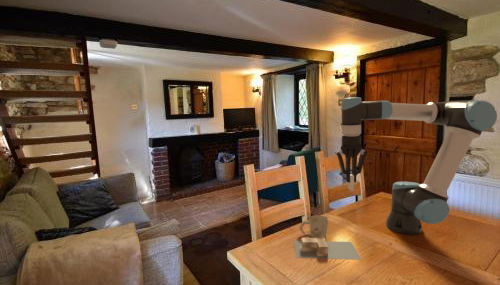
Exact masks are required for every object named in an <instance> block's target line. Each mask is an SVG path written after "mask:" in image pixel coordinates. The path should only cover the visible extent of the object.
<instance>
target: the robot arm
mask: <svg viewBox="0 0 500 285" xmlns="http://www.w3.org/2000/svg"><path fill="white" fill-rule="evenodd" d="M340 109H341V147H340V149H339V150H338V151H335V155H336V157H337V160H338V164H339V166H340V170H341V173H342V174H343V175H345V181H346V183H348V184H347V189H348V190H349V191H355V183H357V176H358V175H359V174H362V170H363V165H364V162H365V159H366V156H367V154H368V151H367V150H364V149H363V147H362V136H361V134H362V121H366V120H367V121H368V120H370V121H373V120H395V121H396V120H399V121H416V122H417V121H418V122H419V121H420V122H421V121H422V122H424V123H426V124H432V125H433V124H435V125H440V126H445V129H446V131H447V133H446V136H445V138H444V140H443V142H442V144H441V146H440V148H439V150H438V152H437V154H436V156H435V158H434V161H433V163H432V165H431V167H430V168H429V171H428V173H427V174H426V177H425V179H424V181H423V183H418V182H413V181H396V182H394V183H392V189H391V190H392V191H391V203H390V204H391V206H390V207H391V208H390V212H389V214H388V216H387V217H386V227H387V228H388V229H389V230H391V231H393V232H396V233H399V234H402V235H408V236H416V235H420V234H421V233H423V226H422V222H424V223H426V224H429V225H437V224H440V223H442V222H443V221H445V220H446V219H447V218H448V216H449V214H450V207H449V205H448V203H447V202H448V200H449V195H448V190H449V187H450V186H451V184H452V182H453V180H454V178H455V176H456V173H457V171H458V169H459V168H460V166H461V164H462V162H463V160H464V158H465V156H466V154H467V152H468V150H469V148H470V146H471V145H472V142H473V140H474V139H477V138H479V137H481V134H482V133H483V131H487V130H489V129H491V128H493V127H494V125H495V124H496V122H497V119H498V113H497V110H496V108H495V106H494V105H493V104H492V103H491V102H489V101H486V100H482V99H481V100H480V99H479V100H478V99H471V100H470V99H469V100H450V101H440V102H432V101H431V102H428V103H426V104H423V103H422V104H421V103H401V102H390V101H389V100H376V101H375V100H374V101H373V100H371V101H362V97H359V96H357V97H344V98H343V99H342V101H341V108H340ZM343 155H344V157H345V163H344V158H343ZM358 155H359V158H358ZM421 221H422V222H421Z"/></svg>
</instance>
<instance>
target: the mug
mask: <svg viewBox="0 0 500 285" xmlns="http://www.w3.org/2000/svg"><path fill="white" fill-rule="evenodd" d="M308 220H309V221H308ZM308 220H306V221H303V222H301V223H300V225H299V231H300V232H301V233H302V235H305V236H310V238H315V234H323V236H324V238H325V239H326V237H327V232H328V226H329V219H328V217H325V216H323V215H317V214H316V215H315V214H314V215H312V216H310V217H309V219H308ZM305 225H309V229H310V233H309V232H308V233H307V232H305V230H304V229H303V227H304V226H305Z"/></svg>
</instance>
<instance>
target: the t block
mask: <svg viewBox="0 0 500 285" xmlns="http://www.w3.org/2000/svg"><path fill="white" fill-rule="evenodd" d="M301 241H302V250H303V251H313V252H318V255H319V256H328V245H327V243H326V238H324V236H323V234H315V238H312V237H301Z"/></svg>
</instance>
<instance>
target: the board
mask: <svg viewBox="0 0 500 285" xmlns="http://www.w3.org/2000/svg"><path fill="white" fill-rule="evenodd" d="M326 243H327V245H328V256H319V255H318V252H313V251H303V250H302V240H293V246H294V252H295V258H297V259H324V260H326V259H327V260H328V259H329V260H359V261H362V260H363V259H362V258H361V256H360V253H359V252H358V251H357V249H356V247H355V246H354V244H353V242H352V241H333V240H332V241H326Z"/></svg>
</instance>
